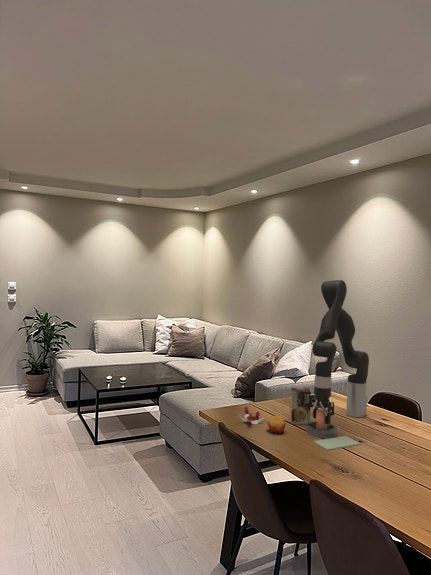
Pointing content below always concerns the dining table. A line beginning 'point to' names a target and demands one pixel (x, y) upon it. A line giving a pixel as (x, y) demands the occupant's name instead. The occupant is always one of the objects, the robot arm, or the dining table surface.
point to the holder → (321, 433)
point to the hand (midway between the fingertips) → (321, 421)
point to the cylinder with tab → (321, 420)
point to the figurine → (251, 417)
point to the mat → (336, 443)
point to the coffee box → (300, 405)
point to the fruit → (276, 424)
